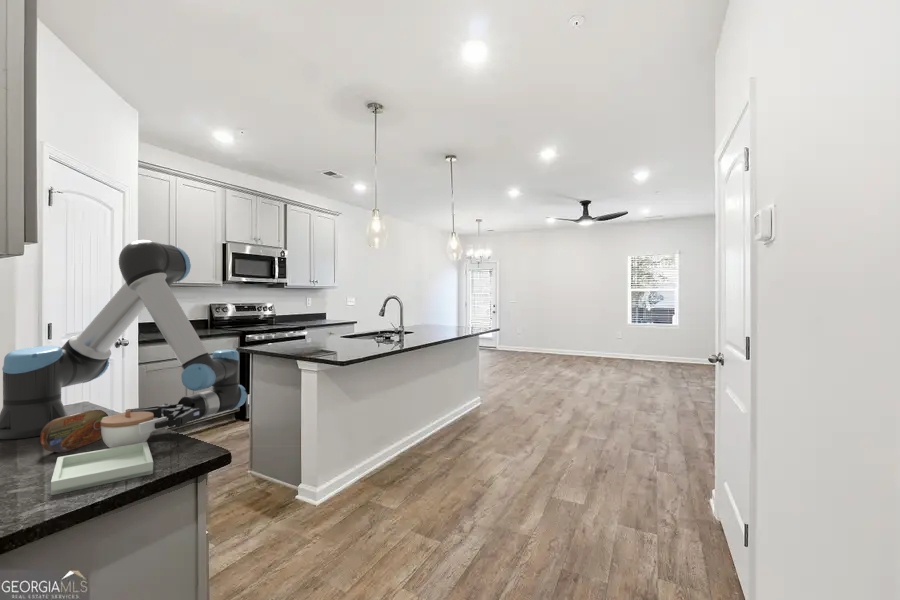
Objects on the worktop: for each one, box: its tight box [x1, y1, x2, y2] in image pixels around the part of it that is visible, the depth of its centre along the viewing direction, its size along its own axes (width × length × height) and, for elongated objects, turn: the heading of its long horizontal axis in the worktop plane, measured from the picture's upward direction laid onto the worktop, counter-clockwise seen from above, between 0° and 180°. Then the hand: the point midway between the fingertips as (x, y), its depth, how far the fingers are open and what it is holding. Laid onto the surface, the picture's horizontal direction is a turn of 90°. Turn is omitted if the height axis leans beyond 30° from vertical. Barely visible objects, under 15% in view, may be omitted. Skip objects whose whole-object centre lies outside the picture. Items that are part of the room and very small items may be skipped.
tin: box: [39, 409, 109, 453], centre depth 106 cm, size 15×3×8 cm, turn 168°
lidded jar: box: [100, 409, 155, 449], centre depth 105 cm, size 11×11×9 cm
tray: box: [50, 441, 154, 496], centre depth 90 cm, size 16×16×3 cm
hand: (120, 426), depth 103 cm, fingers open, 13 cm apart
